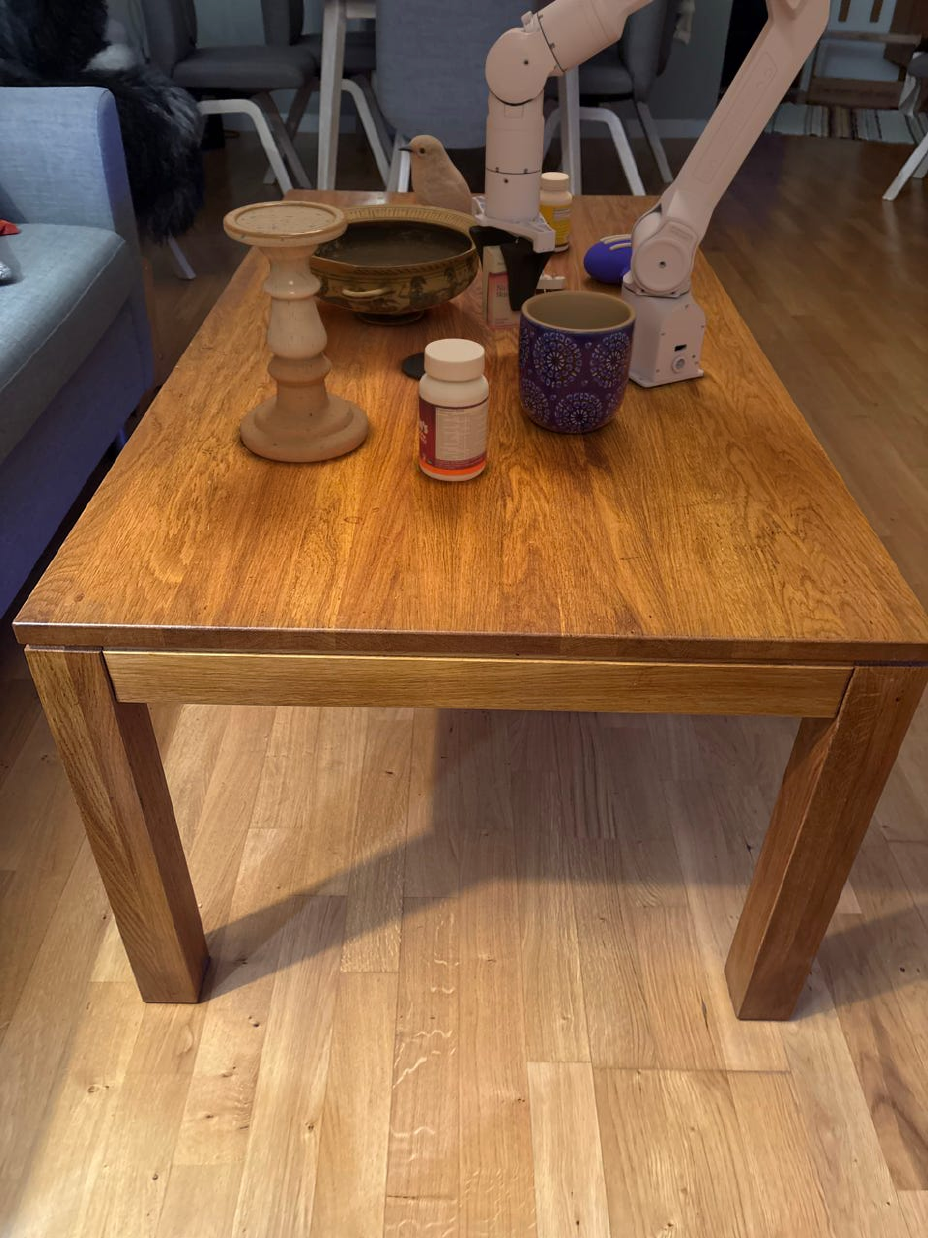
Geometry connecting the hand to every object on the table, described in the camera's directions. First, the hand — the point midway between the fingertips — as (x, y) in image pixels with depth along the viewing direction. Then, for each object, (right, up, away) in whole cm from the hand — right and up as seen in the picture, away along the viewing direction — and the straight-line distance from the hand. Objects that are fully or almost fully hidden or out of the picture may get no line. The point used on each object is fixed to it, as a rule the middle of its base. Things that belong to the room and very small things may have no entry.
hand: (508, 300), depth 106 cm
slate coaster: (-8, -7, +1) cm, 11 cm away
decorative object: (+16, +10, +24) cm, 31 cm away
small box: (0, -2, +2) cm, 3 cm away
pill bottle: (-6, -21, -17) cm, 28 cm away
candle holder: (-20, -17, -12) cm, 29 cm away
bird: (-7, +19, +35) cm, 40 cm away
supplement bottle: (+8, +19, +35) cm, 41 cm away
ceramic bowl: (-14, +3, +13) cm, 20 cm away
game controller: (+5, +6, +18) cm, 20 cm away
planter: (+6, -15, -9) cm, 18 cm away
